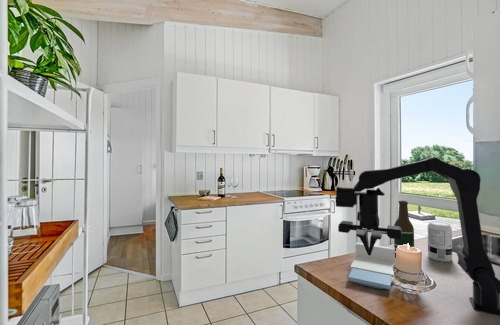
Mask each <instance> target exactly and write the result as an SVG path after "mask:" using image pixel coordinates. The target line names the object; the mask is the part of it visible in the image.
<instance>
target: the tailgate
mask: <svg viewBox="0 0 500 325" xmlns="http://www.w3.org/2000/svg"><path fill="white" fill-rule="evenodd" d="M348 281H349V282H350V281H351V282H353V283H355V284H356V285H361V286H365V287H369V288H374V289H378V290H383V289H387V290H391V287H392V286H391V285H392V283H391V275H386V274H381V273H375V272H370V271H365V270H360V269H355V268H352V270H351V269H350V272H349V275H348Z"/></svg>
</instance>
